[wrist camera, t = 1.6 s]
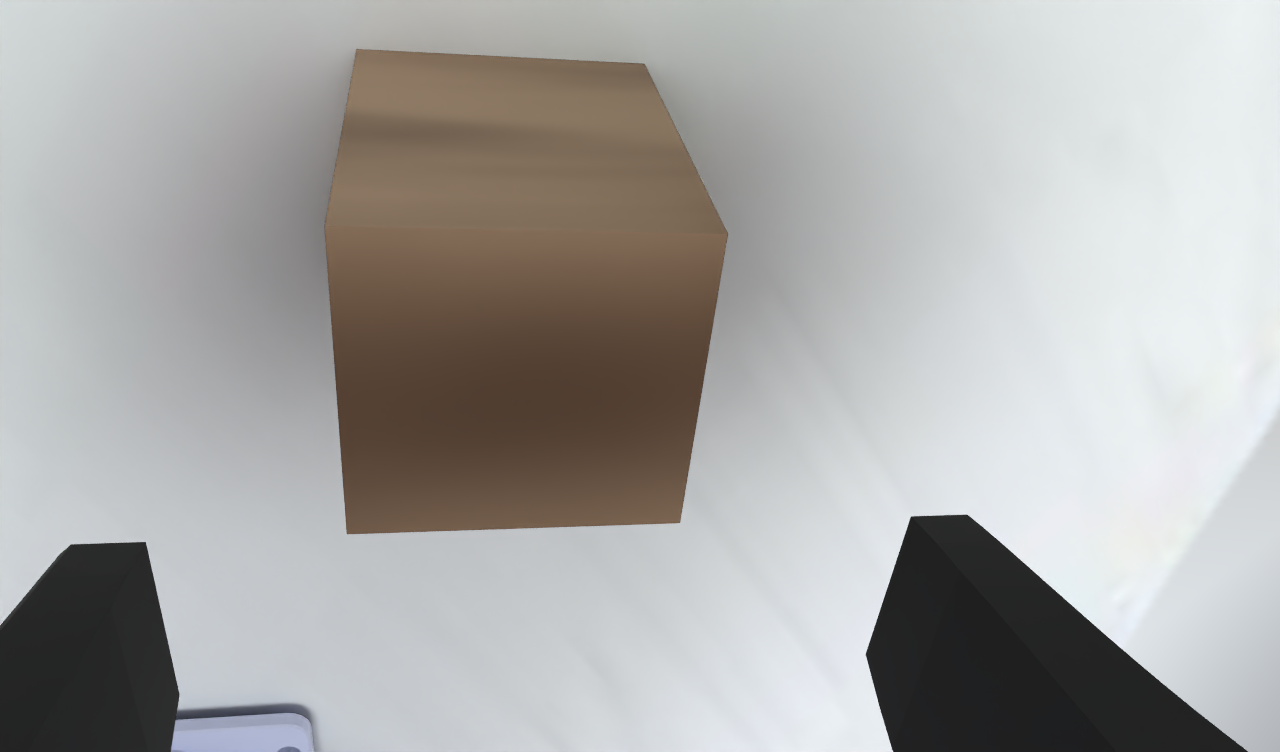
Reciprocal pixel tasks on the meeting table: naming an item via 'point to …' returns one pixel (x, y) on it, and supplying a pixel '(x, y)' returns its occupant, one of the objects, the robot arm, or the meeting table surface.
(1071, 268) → the meeting table surface
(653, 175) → the walnut block
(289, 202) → the meeting table surface
